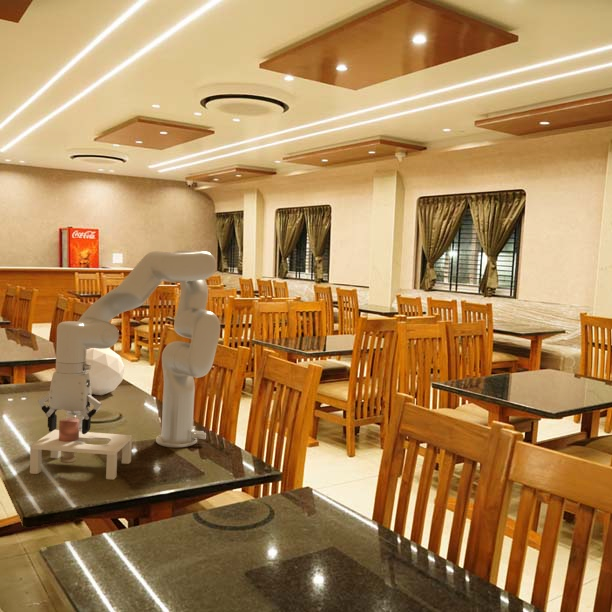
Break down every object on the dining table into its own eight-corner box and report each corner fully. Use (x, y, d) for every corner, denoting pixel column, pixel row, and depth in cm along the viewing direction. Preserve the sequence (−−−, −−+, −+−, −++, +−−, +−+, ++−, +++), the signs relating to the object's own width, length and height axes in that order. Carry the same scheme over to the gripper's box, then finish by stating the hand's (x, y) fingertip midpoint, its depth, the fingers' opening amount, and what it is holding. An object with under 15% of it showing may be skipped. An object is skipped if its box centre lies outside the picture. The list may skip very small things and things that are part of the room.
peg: (81, 458, 166) (82, 418, 166) (73, 464, 161) (74, 424, 161) (63, 456, 167) (64, 417, 166) (54, 463, 162) (56, 422, 161)
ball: (100, 406, 250) (120, 364, 260) (118, 399, 235) (139, 355, 245) (57, 386, 242) (80, 343, 252) (74, 377, 227) (97, 332, 237)
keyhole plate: (131, 461, 171) (132, 435, 170) (113, 479, 157) (114, 451, 156) (53, 455, 171) (54, 429, 171) (29, 473, 157) (30, 445, 157)
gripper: (108, 367, 165) (105, 429, 167) (45, 363, 166) (43, 425, 167) (97, 372, 158) (95, 438, 159) (32, 368, 158) (30, 433, 160)
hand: (68, 431), depth 163 cm, fingers open, 8 cm apart
